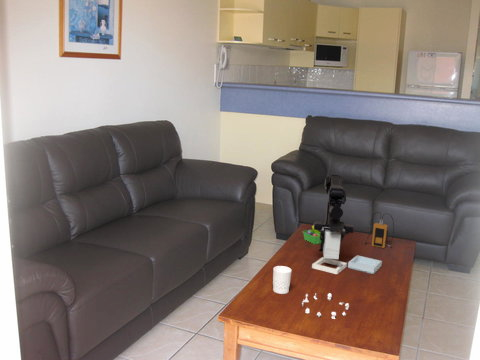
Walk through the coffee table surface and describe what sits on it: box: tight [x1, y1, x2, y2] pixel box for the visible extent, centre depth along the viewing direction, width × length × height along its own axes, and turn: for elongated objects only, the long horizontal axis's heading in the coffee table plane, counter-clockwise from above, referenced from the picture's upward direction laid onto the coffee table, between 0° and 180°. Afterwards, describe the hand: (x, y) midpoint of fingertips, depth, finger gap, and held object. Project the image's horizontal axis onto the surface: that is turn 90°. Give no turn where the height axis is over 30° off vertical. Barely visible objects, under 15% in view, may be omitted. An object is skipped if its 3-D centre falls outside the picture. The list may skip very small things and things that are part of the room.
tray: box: [347, 254, 383, 275], centre depth 264 cm, size 13×13×3 cm
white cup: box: [272, 265, 293, 295], centre depth 229 cm, size 8×8×10 cm
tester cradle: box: [311, 256, 348, 275], centre depth 261 cm, size 13×13×3 cm
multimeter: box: [364, 211, 395, 249], centre depth 299 cm, size 15×10×20 cm
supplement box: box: [322, 230, 341, 260], centre depth 259 cm, size 7×7×13 cm
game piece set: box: [301, 292, 350, 320], centre depth 215 cm, size 19×20×4 cm
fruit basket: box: [302, 224, 322, 245], centre depth 299 cm, size 11×9×11 cm
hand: (331, 243), depth 259 cm, fingers closed on supplement box, 7 cm apart
